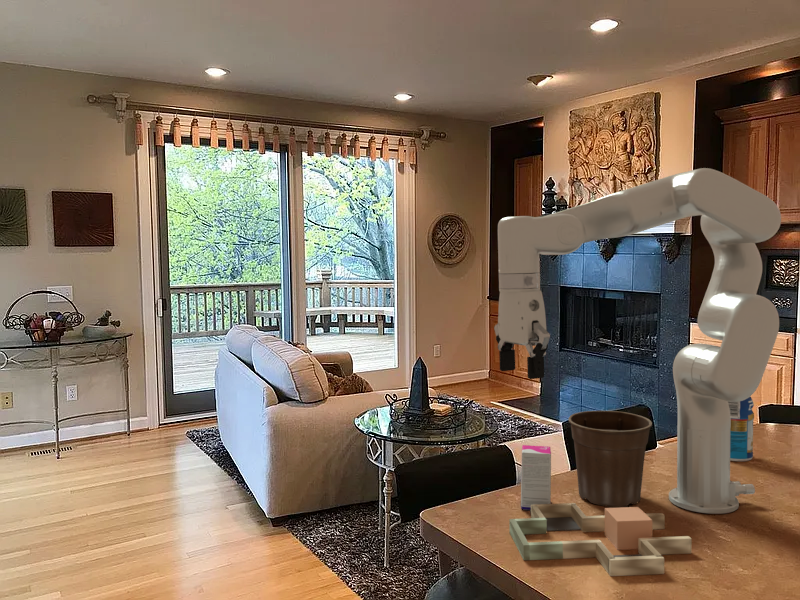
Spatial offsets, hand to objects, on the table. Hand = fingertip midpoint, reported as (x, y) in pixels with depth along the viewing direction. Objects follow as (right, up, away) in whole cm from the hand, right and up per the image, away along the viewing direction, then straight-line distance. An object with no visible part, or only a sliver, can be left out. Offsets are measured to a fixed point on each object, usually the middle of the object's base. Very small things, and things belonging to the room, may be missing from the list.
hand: (521, 374), depth 124 cm
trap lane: (+12, -28, -10) cm, 32 cm away
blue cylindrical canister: (+58, -24, +36) cm, 73 cm away
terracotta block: (+17, -28, -10) cm, 34 cm away
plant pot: (+20, -27, +11) cm, 35 cm away
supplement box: (+4, -27, +8) cm, 29 cm away
